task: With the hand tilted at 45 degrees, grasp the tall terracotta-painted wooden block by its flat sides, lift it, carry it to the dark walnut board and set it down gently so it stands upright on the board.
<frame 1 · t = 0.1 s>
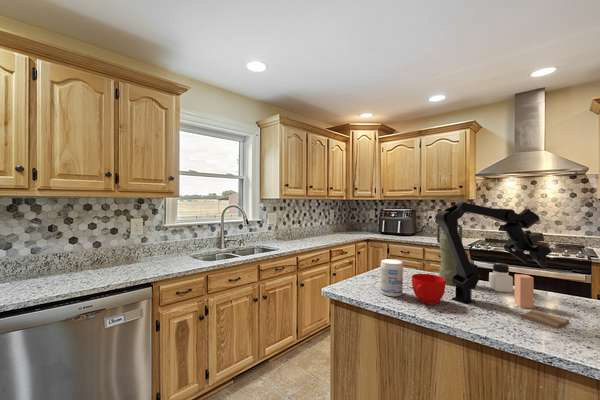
hand: (536, 265, 119), 15 cm above the counter, tool tilted 35°, fingers open, 9 cm apart
medicine bottle: (500, 289, 133), on the counter
supplement tub: (391, 294, 127), on the counter
ceramic cup: (426, 303, 116), on the counter
terracotta block: (523, 305, 113), on the counter
walnut board: (544, 319, 100), on the counter
thermos: (449, 283, 143), on the counter
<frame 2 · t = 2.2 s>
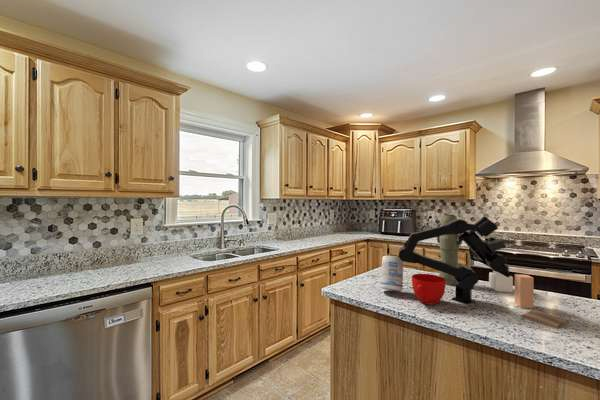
hand: (503, 273, 115), 12 cm above the counter, tool tilted 40°, fingers open, 9 cm apart
supplement tub: (391, 290, 127), point 1 cm above the counter, touching arm
everything else where it was.
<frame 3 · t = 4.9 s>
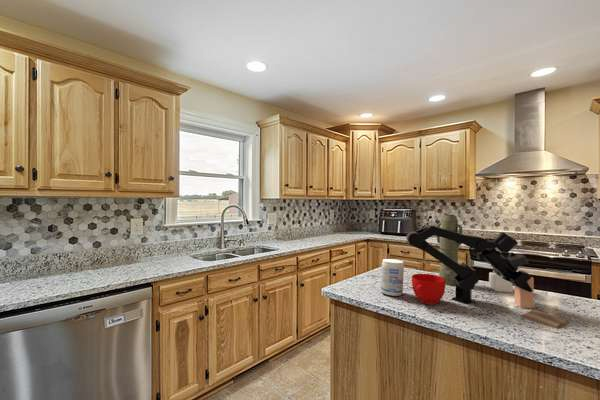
hand: (527, 289, 113), 7 cm above the counter, tool tilted 45°, fingers closed on terracotta block, 4 cm apart
supplement tub: (391, 293, 127), on the counter
terracotta block: (523, 305, 113), on the counter, touching gripper
everything else where it was.
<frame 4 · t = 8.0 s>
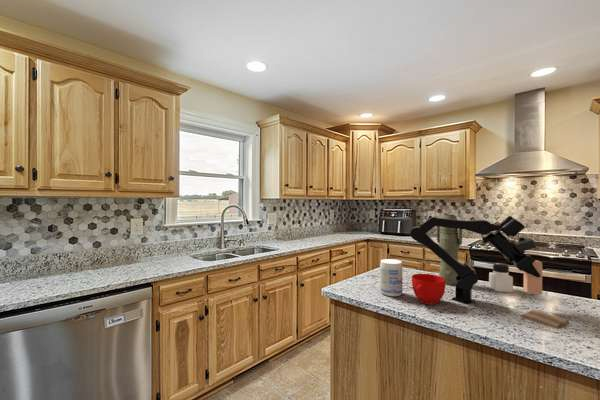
hand: (537, 275, 108), 14 cm above the counter, tool tilted 45°, fingers closed on terracotta block, 4 cm apart
terracotta block: (532, 291, 109), point 7 cm above the counter, touching gripper
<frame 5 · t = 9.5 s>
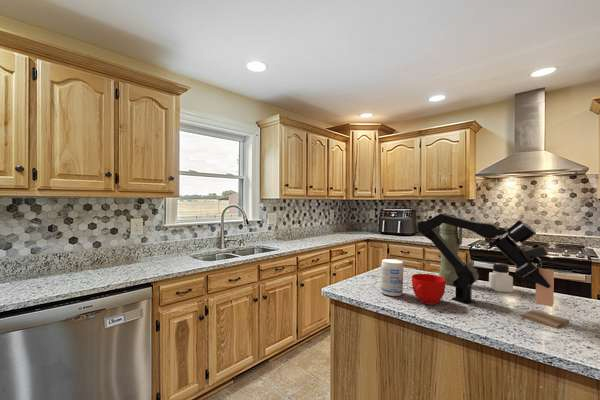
hand: (549, 285, 99), 12 cm above the counter, tool tilted 45°, fingers closed on terracotta block, 4 cm apart
terracotta block: (544, 303, 100), point 6 cm above the counter, touching gripper
everything else where it was.
when the fingers open (8 cm above the counter, at t = 11.0 s): terracotta block stays where it is, resting on walnut board.
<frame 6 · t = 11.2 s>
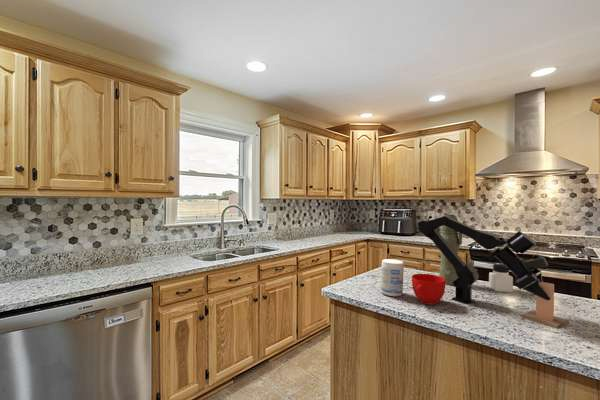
hand: (550, 297, 99), 8 cm above the counter, tool tilted 45°, fingers open, 7 cm apart
terracotta block: (544, 317, 100), point 1 cm above the counter, touching walnut board
everything else where it was.
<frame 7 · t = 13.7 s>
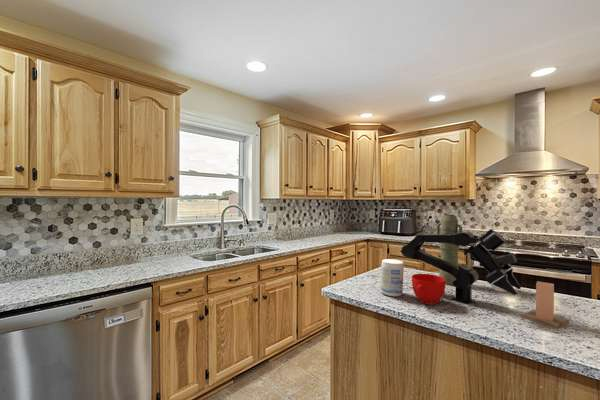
hand: (518, 291, 105), 8 cm above the counter, tool tilted 45°, fingers open, 9 cm apart
nothing on the counter moved.
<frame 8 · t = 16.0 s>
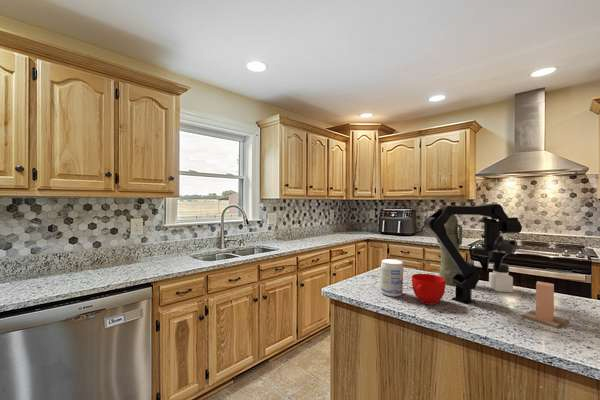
hand: (491, 270, 118), 13 cm above the counter, tool pointing down, fingers open, 9 cm apart
nothing on the counter moved.
at the end: terracotta block 0.0 cm off-centre on the walnut board, point 0.8 cm above the walnut board's base; terracotta block tilted 0°; the gripper is holding nothing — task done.
